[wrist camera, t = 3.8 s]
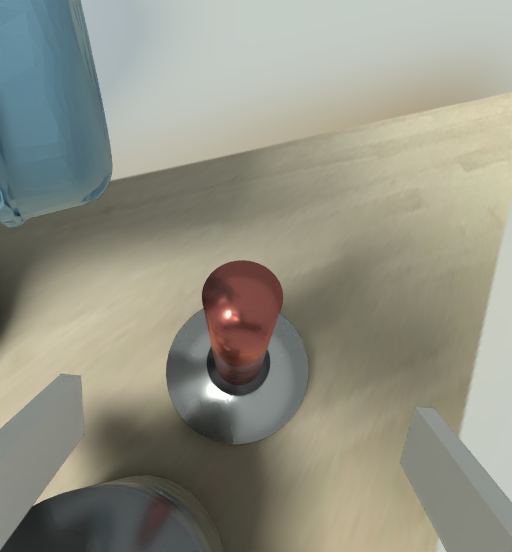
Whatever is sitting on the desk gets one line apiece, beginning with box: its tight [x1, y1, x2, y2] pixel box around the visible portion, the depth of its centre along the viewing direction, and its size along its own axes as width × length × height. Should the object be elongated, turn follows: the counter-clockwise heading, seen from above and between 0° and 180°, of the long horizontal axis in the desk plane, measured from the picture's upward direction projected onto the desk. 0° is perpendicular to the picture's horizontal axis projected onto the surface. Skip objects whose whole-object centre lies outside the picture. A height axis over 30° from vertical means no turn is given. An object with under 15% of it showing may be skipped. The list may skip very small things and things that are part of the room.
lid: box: [166, 260, 309, 444], centre depth 17 cm, size 10×10×12 cm
